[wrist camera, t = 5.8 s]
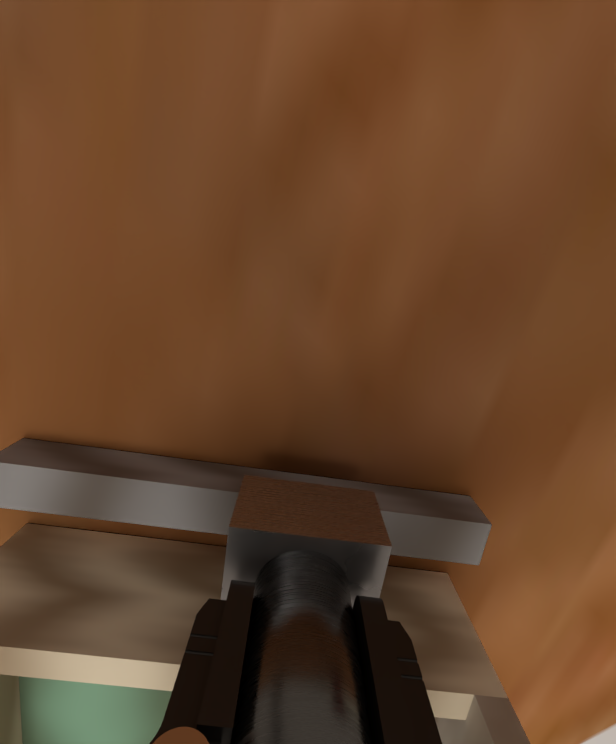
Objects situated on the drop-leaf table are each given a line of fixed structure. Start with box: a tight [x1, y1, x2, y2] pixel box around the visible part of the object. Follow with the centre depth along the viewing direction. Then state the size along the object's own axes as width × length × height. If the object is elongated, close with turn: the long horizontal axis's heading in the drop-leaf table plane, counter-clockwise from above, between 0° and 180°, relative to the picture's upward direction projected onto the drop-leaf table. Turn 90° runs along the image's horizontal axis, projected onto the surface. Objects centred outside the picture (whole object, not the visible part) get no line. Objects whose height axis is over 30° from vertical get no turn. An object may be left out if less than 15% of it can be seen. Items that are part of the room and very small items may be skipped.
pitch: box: [0, 438, 530, 744], centre depth 14 cm, size 20×17×9 cm
